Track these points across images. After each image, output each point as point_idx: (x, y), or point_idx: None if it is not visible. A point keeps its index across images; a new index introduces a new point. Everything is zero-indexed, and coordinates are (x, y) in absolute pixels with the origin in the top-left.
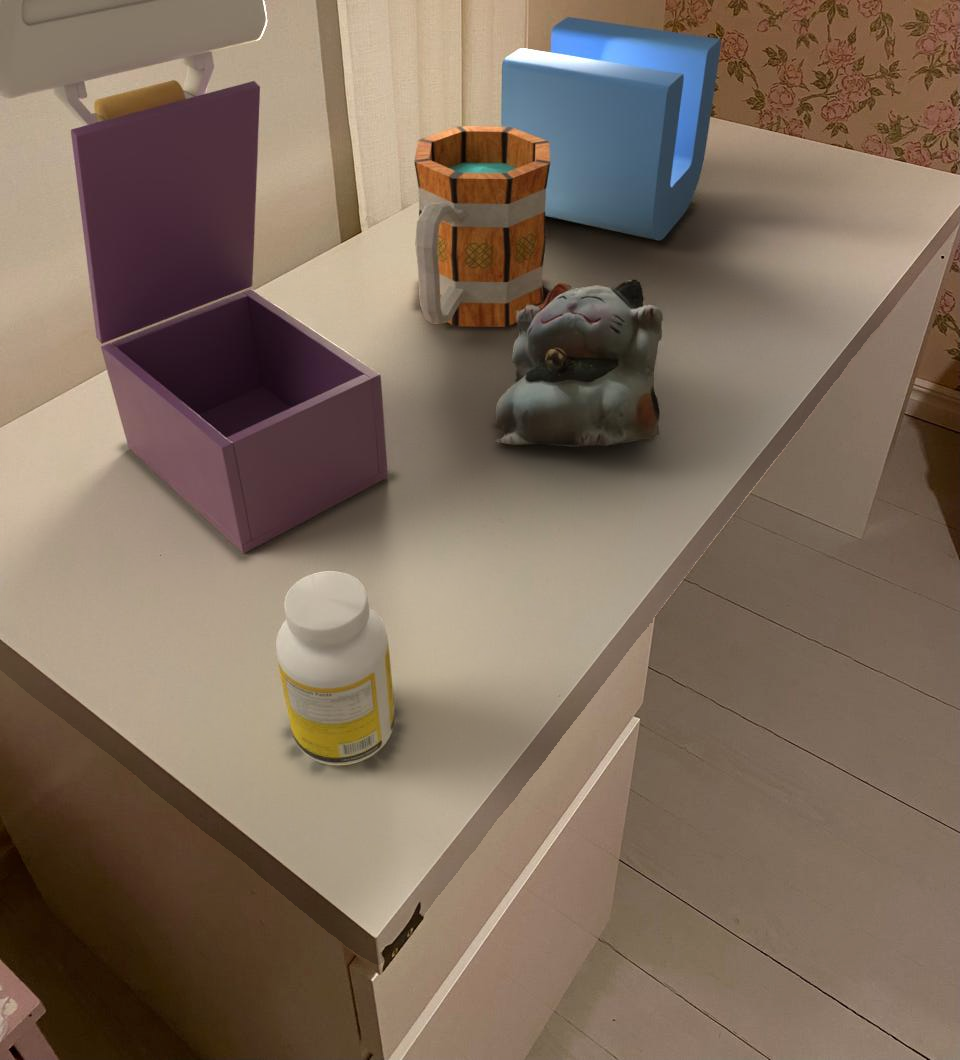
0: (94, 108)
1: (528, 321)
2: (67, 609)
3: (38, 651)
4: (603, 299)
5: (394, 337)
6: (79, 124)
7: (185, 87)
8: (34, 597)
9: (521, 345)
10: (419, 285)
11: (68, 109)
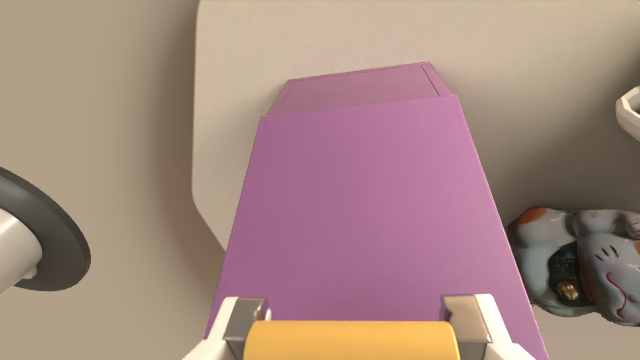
0: (245, 345)
1: (627, 230)
2: (221, 198)
3: (205, 214)
4: None
5: (593, 51)
6: (213, 325)
7: (492, 355)
8: (205, 182)
9: (596, 229)
10: (637, 123)
11: (184, 358)
